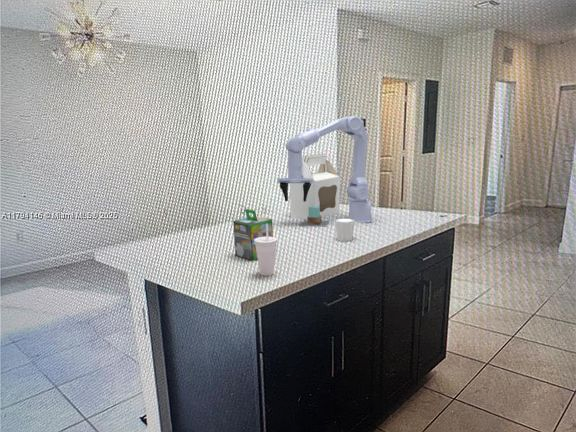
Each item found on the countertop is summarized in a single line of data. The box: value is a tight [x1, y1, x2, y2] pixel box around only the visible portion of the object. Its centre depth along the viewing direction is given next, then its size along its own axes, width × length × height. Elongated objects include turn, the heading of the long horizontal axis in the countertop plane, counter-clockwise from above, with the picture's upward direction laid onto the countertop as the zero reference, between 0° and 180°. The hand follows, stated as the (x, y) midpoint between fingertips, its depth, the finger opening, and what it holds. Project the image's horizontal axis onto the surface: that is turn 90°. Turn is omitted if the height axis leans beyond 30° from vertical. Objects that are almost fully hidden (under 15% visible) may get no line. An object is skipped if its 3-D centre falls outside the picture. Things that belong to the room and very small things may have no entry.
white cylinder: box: [334, 218, 355, 242], centre depth 145 cm, size 7×7×7 cm
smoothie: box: [254, 224, 278, 277], centre depth 110 cm, size 6×6×14 cm
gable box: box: [289, 153, 340, 220], centre depth 186 cm, size 22×13×28 cm, turn 144°
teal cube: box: [309, 206, 320, 218], centre depth 169 cm, size 4×4×4 cm
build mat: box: [298, 219, 330, 228], centre depth 170 cm, size 11×11×1 cm
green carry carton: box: [232, 208, 274, 262], centre depth 128 cm, size 9×9×15 cm
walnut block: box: [306, 215, 322, 225], centre depth 170 cm, size 5×5×3 cm
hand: (295, 201), depth 166 cm, fingers open, 7 cm apart
